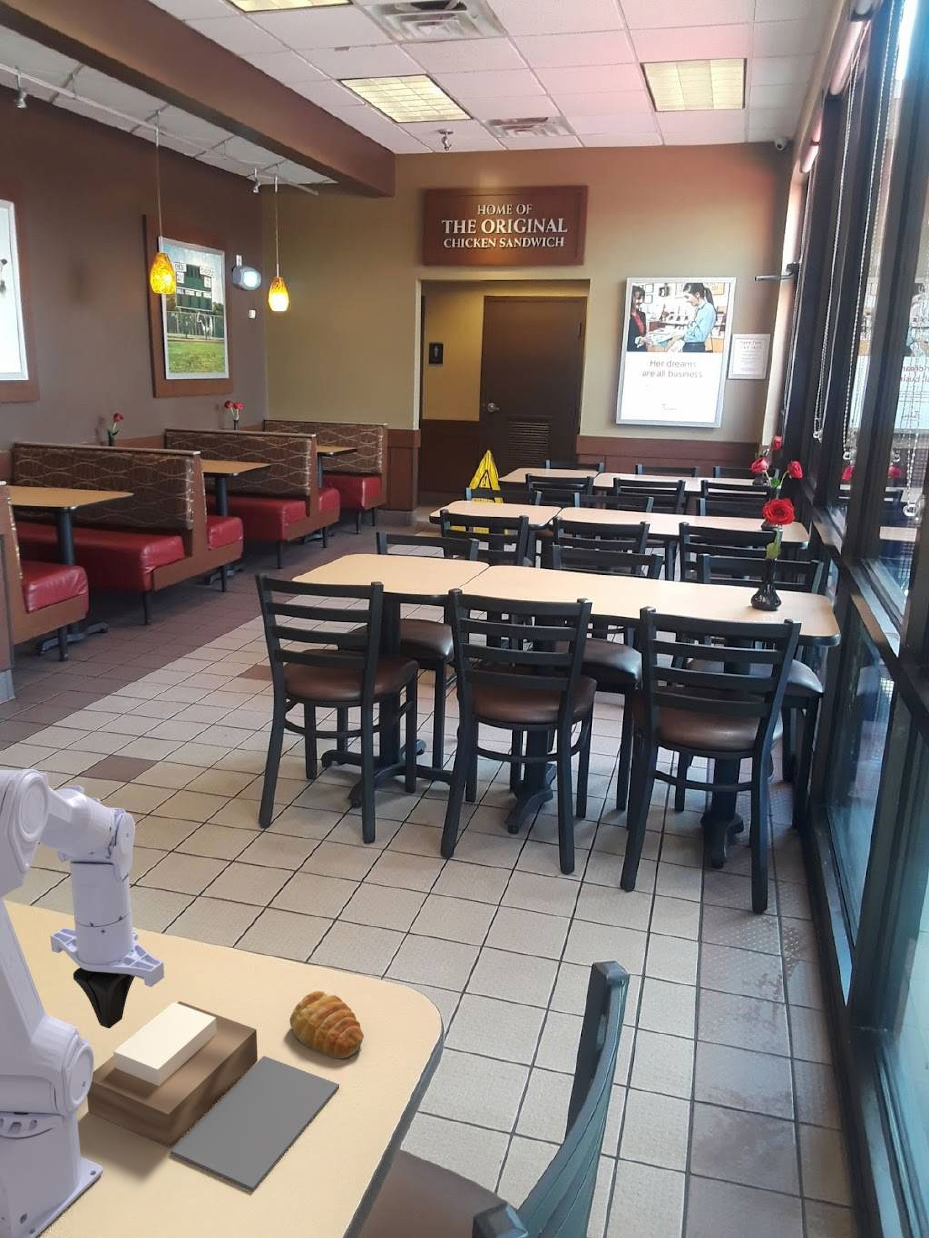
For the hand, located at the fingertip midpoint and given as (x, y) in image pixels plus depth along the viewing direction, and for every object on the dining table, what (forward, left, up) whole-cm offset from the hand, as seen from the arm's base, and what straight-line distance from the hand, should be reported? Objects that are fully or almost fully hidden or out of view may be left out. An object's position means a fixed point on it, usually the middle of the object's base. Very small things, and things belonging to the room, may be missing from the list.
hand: (111, 1021), depth 103 cm
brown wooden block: (0, -9, -5) cm, 10 cm away
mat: (0, -20, -5) cm, 21 cm away
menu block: (0, -8, -1) cm, 8 cm away
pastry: (+15, -19, -5) cm, 24 cm away
